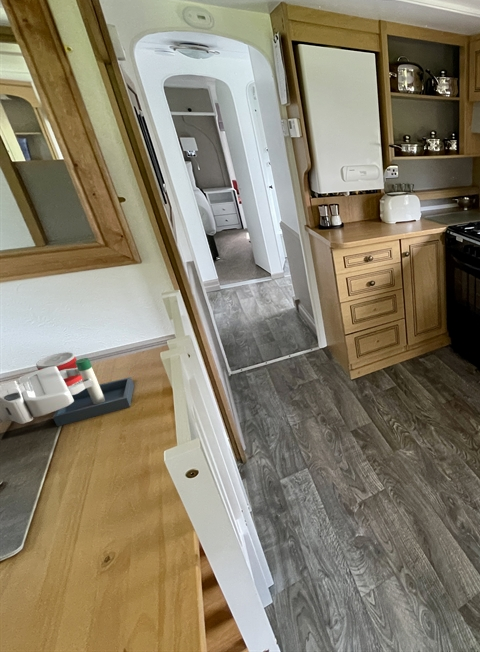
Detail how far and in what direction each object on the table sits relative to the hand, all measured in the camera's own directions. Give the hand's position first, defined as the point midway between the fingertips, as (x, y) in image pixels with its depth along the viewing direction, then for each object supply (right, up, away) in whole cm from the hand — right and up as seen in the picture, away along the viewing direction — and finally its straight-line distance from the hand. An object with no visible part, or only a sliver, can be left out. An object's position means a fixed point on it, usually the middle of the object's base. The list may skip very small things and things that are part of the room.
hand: (88, 375), depth 103 cm
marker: (-1, -8, +3) cm, 9 cm away
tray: (0, -9, +3) cm, 10 cm away
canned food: (-14, -7, +9) cm, 18 cm away
